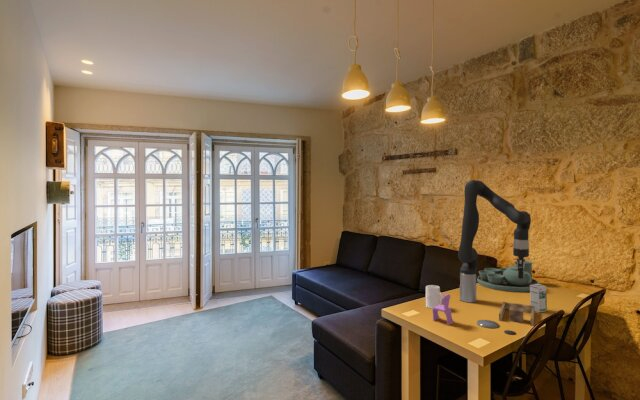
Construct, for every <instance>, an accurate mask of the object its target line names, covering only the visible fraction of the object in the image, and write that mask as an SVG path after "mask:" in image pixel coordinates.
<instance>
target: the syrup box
mask: <svg viewBox="0 0 640 400" xmlns="http://www.w3.org/2000/svg"><path fill="white" fill-rule="evenodd" d="M529 298H530V299H529V300H530V301H529V302H530V305H529V306H534V311H535V312H536V313H545V312H547V311H548V308H547V307H548V305H547V304H548V301H547V300H548V299H547V286H546V285H544V284H541V283H540V284H533V285H530V291H529Z"/></svg>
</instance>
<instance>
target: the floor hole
mask: <svg viewBox="0 0 640 400" xmlns="http://www.w3.org/2000/svg"><path fill="white" fill-rule="evenodd" d="M503 333H504V334H507V335H509V336H510V335H511V336H515V335H516V334H517V332H515V331H514V330H509V329H507V330H504V331H503Z"/></svg>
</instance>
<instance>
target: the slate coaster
mask: <svg viewBox="0 0 640 400" xmlns="http://www.w3.org/2000/svg"><path fill="white" fill-rule="evenodd" d="M476 325H478V326H479V327H482V328H487V329H498V328H499V323H498V322H496V321H493V320H490V319H479V320H477V321H476Z"/></svg>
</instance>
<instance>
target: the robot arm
mask: <svg viewBox="0 0 640 400" xmlns="http://www.w3.org/2000/svg"><path fill="white" fill-rule="evenodd" d="M478 196H479V197H481V198H483V199H485V200H486V201H487V202H489V204H491V206H492V207H493V208H494V209H496V210H498V211H499V212H500V213H502V214H503V215H505V216H506V217H507V218H508V220H510V221H511V222H512V223H514V224H516V227H515V229H514V230H513V243H512V244H513V245H512V246H513V247H512V249H513V251H512V253H513V256H515V257H518V258H516V260H517V267H518V278H521V279H523V271H524V270H523V268H524V266H525V260H526V259H525V258H528V257H530V241H529V236H530V235H529V231H530V227H531V224H532V223H531V222H532V218H531V215H530V212H528V211H525V210H523V211H521V210H518V209H517V208H515V205H514V204H513V203H511V202H509V201H508V200H507V199H504V197H502V196H500V195H498V194H497V193H495V192H494V191H493V190H492V189H491V188H490V187H488V185H487V184H485V183H484V182H483V181H482V180H478V179H477V180H475V179H474V180H472V179H471V180H468V181H467V182H466V183H465V185H464V205H463V217H462V226H461V235H460V236H461V237H460V242H459V243H460V244H459V248H458V251H457V257H458V260H459V261H460V262H461V263H462V265H461V267H460V269H459V271H460V272H459V279H460V280H459V282H460V284H459V301H462V302H463V303H464V302H465V303H476V302H477V301H478V300H477V298H478V297H477V270H478V264H479V263H478V259H479V258H478V257H479V256H478V252H477V250H476V249H475V248H474V247H473V246H474V244H473V243H474V240H475V238H476V235H477V232H478V229H479V225H480V213H479V210H478V206H477V202H478V201H477V199H478Z"/></svg>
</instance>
